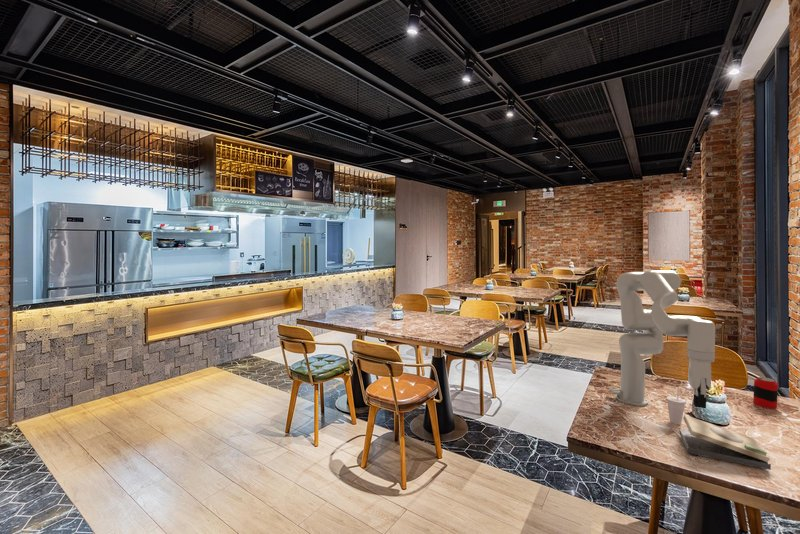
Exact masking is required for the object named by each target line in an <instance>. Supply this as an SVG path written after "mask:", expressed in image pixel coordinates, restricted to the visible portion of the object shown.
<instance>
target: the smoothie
mask: <svg viewBox="0 0 800 534" xmlns="http://www.w3.org/2000/svg"><path fill="white" fill-rule="evenodd" d="M679 393H680V389H679V388H677V389H676V396H670V395H669V396H666V398H665V399H666V400H665V401H666V402H667V410H668V415H669V416H668V417H669V423H671V424H673V425H677V426H679V425H682V422H683V418H684V411H685V406H686V404H687V403H686V402H687V401H686V400H685V399H684V398H681V397H680V395H679Z"/></svg>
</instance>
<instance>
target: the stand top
mask: <svg viewBox="0 0 800 534" xmlns="http://www.w3.org/2000/svg"><path fill="white" fill-rule="evenodd" d="M682 420H683V421H684V423H685V425H686V427H687V430H689V432H690V434H691V435H693V436H696V437H698V438H701V439H704V440H707V441H710V442H712V443H715V444H718V445H721V446H724V447H726V448H729V449H732V450H735V451H738V452H740V453H743V454H746V455H749V456H752V457H754V458H757V459H760V460H763V461H766V462H768V461H769V462H770V457H769V455H768V454H767V453H768V452H767V451H766V450H765V449H763V448H762V446H761V445H760V444H759V443H758V442H757V440H756V439H755V437H752V436H749V435H745V434H742V433H740V432H737V431H734V430H730V429H727V428H726V427H721V426H719V425H716V424H713V423H711V422H707V421H705V420H701V419H698V418H695V417H692V416H689V415H687V414H683V417H682Z"/></svg>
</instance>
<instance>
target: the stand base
mask: <svg viewBox="0 0 800 534" xmlns="http://www.w3.org/2000/svg"><path fill="white" fill-rule="evenodd" d="M678 432H679V435H680V438H681V440H682V442H683V443H682V444H683V445H684V446H683V447H684V448H685V450H686V452H687V454H688V455H690V456H693V457H699V456H702V457H707V458H712V459H716V460H722V461H726V462H727V461H728V462H731V463H736V464H740V465H741V464H742V465H746V466H749V467H750V466H751V467H754V468H761V469H765V470H770V471H771V468H772V466H771V465H772V464H771V463H770V460H769V461H768V462H766V461H763V460H760V459H757V458H754V457H752V456H749V455H746V454H743V453H740V452H738V451H735V450H732V449H729V448H726V447H724V446H721V445H718V444H715V443H712V442H710V441H707V440H704V439H701V438H698V437H696V436H693V435H691V434H690V432H689V430H688V429H684V428H679V430H678Z"/></svg>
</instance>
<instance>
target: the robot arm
mask: <svg viewBox="0 0 800 534" xmlns="http://www.w3.org/2000/svg"><path fill="white" fill-rule="evenodd" d="M681 284H682V280H681V277H680V275H679V273H677V272H675V271H673V270H667V269H666V270H663V269H662V270H660V269H659V270H654V269H653V270H647V271H631V272H630V271H629V272H628V271H627V272H624V273H621V274H620V275H619V276H618V277H617V280H616V291H617V293H618V296H619V300H620V313H621V315H620V317H621V324H622V327H623V328H624V329H625V330H629V331H646V332H645V333H643V332H642V333H641V332H629V333H627V332H626V333H624V334H622V335H620V336H619V339H618V344H619V345H618V347H619V351H620V387H619V388H611V387H609V392H608V393H611V394H612V395H616V396H615V397H616V400H618V402H621V403H624V404H625V405H629V406H636V407H644V406H648V405H649V400H648V399H647V398H646V397H645V391H646V390H645V387H646V386H645V385H646V384H645V383H646V364H645V361H644V360H643V359H642V357H641V355H660V354H661V353H662V352H663V351H664V335H665V336H668V337H687V342H686V345H687V346H686V348H687V349H686V358H687V359H689V360H688V373H687V374H688V375H687V382H688V384H689V385H690V387H691V388H692V389H693V406H694V407H695V408H700V409H706V408H707V391H711V389H712V364H711V363H714V362H715V361H716V360H715V359H716V357H715V355H716V351H715V349H716V324H715V322H713V321H712V320H709V319H708V320H707V319H703V318H701V317H699V316H695V315H669V314H667V312H666V311H665V309H667V308H670V307H671V306H673V305H674V304H675V303H676V302H677V301H678V297H679V296H678V293H677V292H676V290H678V289H679V288H680V286H681ZM636 291H638V292H639V291H640V292H641V291H643V292H644V291H645V292H646V294H647V295H648V297H650V299H651V301H652V306H651V309H644V308H643V301H642V297H640V295H639V294H638V292H636Z"/></svg>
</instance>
